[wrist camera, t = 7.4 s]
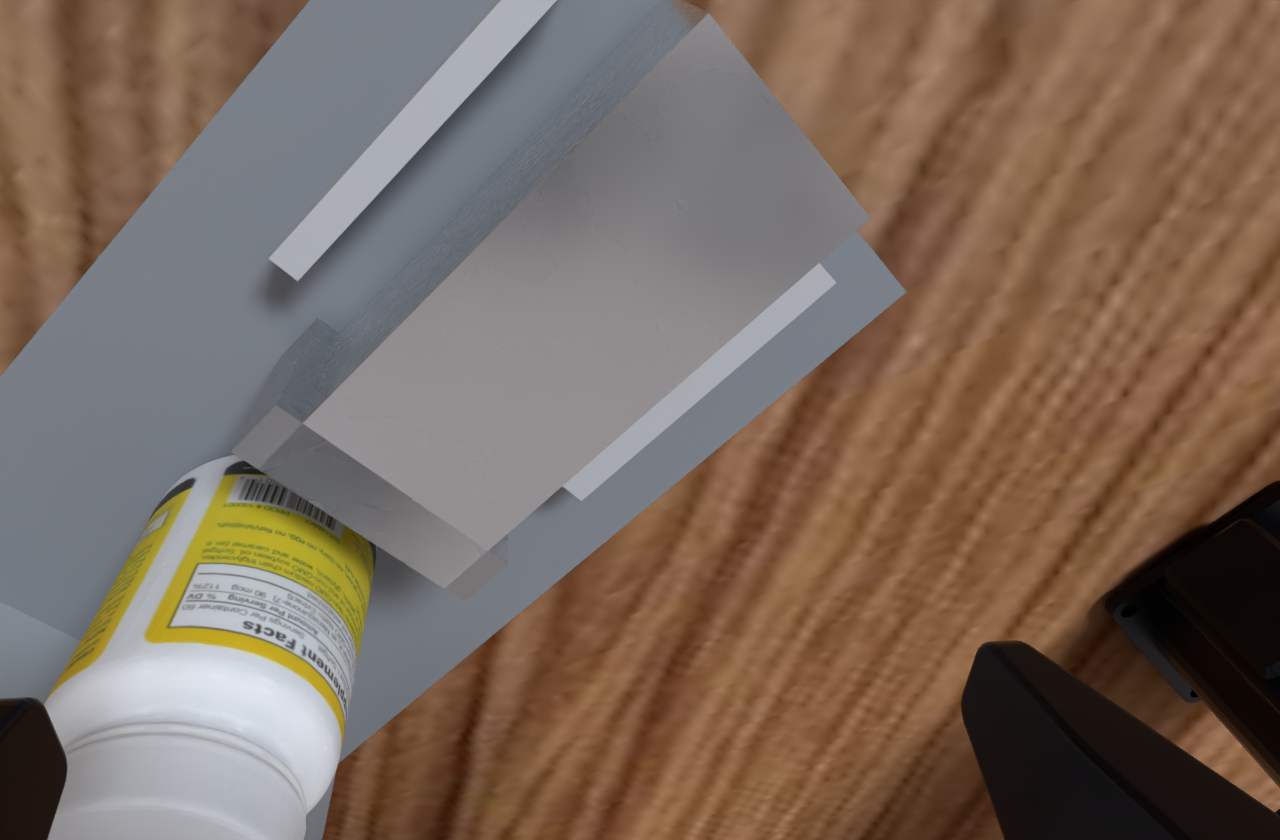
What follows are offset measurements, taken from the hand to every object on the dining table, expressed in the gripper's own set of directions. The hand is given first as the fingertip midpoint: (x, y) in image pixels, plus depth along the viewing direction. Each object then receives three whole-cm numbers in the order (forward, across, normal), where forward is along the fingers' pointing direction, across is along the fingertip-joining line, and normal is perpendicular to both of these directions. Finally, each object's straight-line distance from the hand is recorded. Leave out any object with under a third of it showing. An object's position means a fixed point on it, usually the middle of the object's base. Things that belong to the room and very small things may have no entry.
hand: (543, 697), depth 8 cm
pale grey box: (+10, 0, -1) cm, 10 cm away
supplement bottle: (+11, +6, +6) cm, 14 cm away
